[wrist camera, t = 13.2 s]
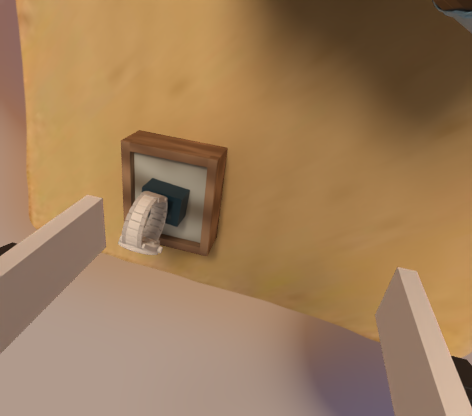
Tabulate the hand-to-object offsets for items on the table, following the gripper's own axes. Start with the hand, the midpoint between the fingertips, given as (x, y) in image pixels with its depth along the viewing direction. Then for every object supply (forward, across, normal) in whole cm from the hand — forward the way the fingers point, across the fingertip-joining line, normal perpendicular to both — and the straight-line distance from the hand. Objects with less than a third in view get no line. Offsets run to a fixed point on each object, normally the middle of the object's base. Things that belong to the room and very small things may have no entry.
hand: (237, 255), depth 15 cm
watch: (+28, -14, -14) cm, 34 cm away
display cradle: (+32, -14, -14) cm, 37 cm away
